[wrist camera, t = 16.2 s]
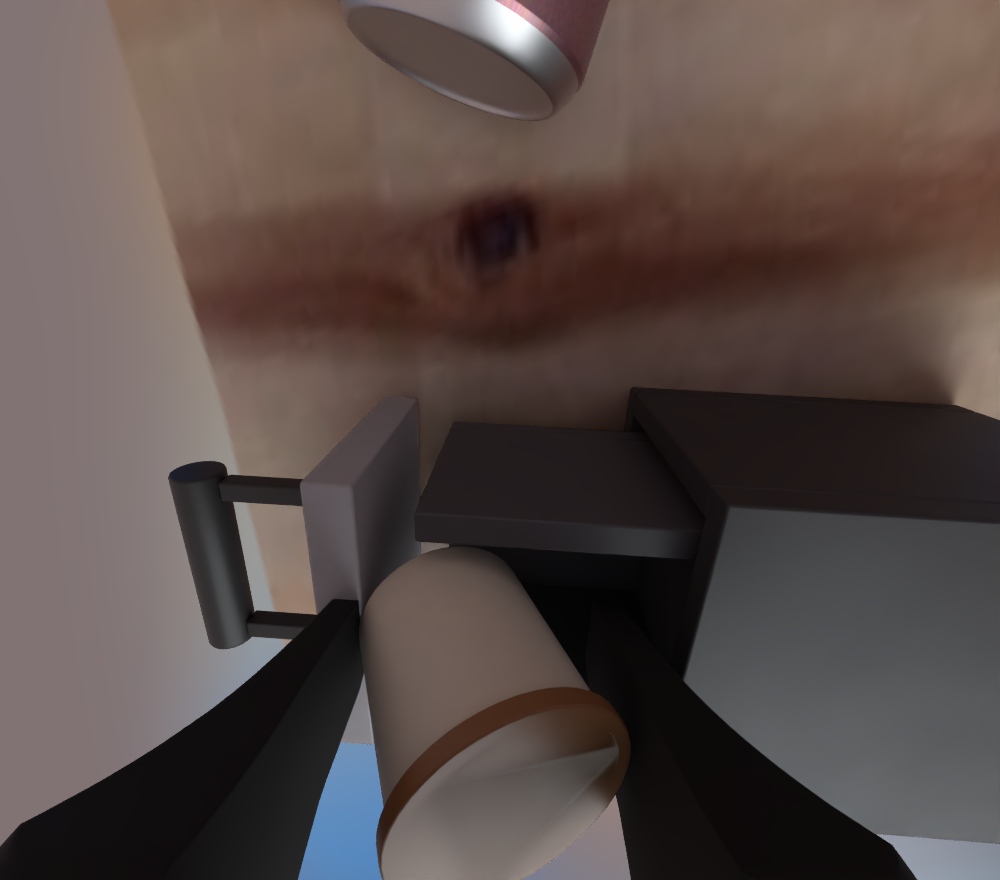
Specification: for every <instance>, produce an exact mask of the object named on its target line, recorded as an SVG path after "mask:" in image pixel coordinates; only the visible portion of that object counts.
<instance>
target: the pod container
mask: <svg viewBox="0 0 1000 880" xmlns="http://www.w3.org/2000/svg"><path fill="white" fill-rule="evenodd" d="M359 642H360V649H361V655H362V662H363V669H364V676H365V683H366V689H367V696H368V703H369V710H370V717H371V723H372V730H373V737H374V744H375V751H376V757H377V764H378V771H379V778H380V785H381V791H382V798H383V805H384V808H383V811H382V813H381V816H380V819H379V824H378V828H377V835H376V846H377V854H378V863H379V868H380V873H381V877H382V879H383V880H522V879H524V878H526V877H527V876H529V875H531V874H532V873H534V872H536V871H537V870H539V869H540V868H542V867H543V866H545V865H546V864H548V863H549V862H550V861H552V860H553V859H555V858H556V857H557V856H559V855H560V854H561V853H563V852H564V851H565V850H566V849H567V848H569V847H570V846H571V845H572V844H573V843H574V842H576V841H577V840H578V839H579V838H580V837H581V836H582V835H583V834H584V833H585V832H586V831H587V830H588V829H589V828H590V827H591V826H592V825H593V823H594V822H595V821H596V820H597V819H598V818H599V817H600V815H601V814H602V813H603V812H604V810H605V809H606V808H607V807H608V805H609V803H610V802H611V801H612V799H613V798H614V796H615V795H616V793H617V791H618V789H619V787H620V786H621V784H622V781H623V779H624V777H625V774H626V772H627V768H628V765H629V761H630V755H631V741H630V736H629V732H628V729H627V727H626V725H625V723H624V722H623V720H622V719H621V717H620V716H619V714H618V713H617V711H616V710H615V708H614V707H613V706H612V705H611V704H610V703H609V702H608V701H607V700H606V699H604V698H603V697H602V696H600V695H598V694H596V693H594V692H592V691H590V689H589V688H588V686H587V685H586V683H585V682H584V680H583V679H582V677H581V675H580V674H579V672H578V671H577V669H576V668H575V666H574V665H573V663H572V662H571V660H570V658H569V657H568V655H567V654H566V652H565V651H564V649H563V648H562V646H561V645H560V643H559V642H558V640H557V638H556V637H555V635H554V634H553V632H552V631H551V629H550V628H549V626H548V625H547V623H546V621H545V620H544V618H543V617H542V615H541V614H540V612H539V611H538V609H537V608H536V606H535V604H534V603H533V601H532V600H531V598H530V597H529V595H528V594H527V592H526V591H525V589H524V587H523V586H522V584H521V583H520V581H519V580H518V578H517V577H516V575H515V574H514V572H513V571H512V569H511V568H510V567H509V565H508V564H507V563H506V562H505V561H504V560H502V559H501V558H500V557H498V556H496V555H495V554H493V553H491V552H488V551H486V550H483V549H479V548H475V547H465V546H462V547H448V548H442V549H438V550H434V551H431V552H428V553H425V554H422V555H420V556H418V557H416V558H414V559H412V560H410V561H408V562H407V563H405V564H403V565H402V566H400V567H399V568H397V569H396V570H395V571H394V572H392V573H391V574H390V575H389V576H388V577H387V578H386V579H385V580H383V581H382V583H381V584H380V585H379V586H378V587H377V588H376V590H375V591H374V593H373V594H372V596H371V597H370V599H369V600H368V602H367V604H366V606H365V608H364V611H363V614H362V617H361V620H360V626H359Z"/></svg>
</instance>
